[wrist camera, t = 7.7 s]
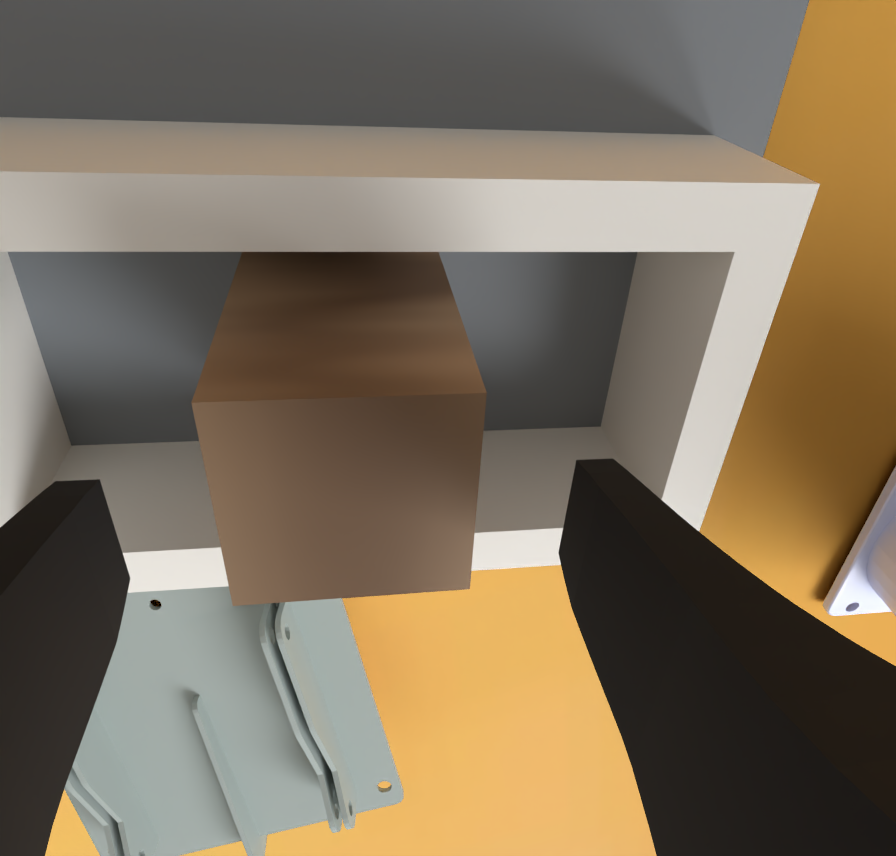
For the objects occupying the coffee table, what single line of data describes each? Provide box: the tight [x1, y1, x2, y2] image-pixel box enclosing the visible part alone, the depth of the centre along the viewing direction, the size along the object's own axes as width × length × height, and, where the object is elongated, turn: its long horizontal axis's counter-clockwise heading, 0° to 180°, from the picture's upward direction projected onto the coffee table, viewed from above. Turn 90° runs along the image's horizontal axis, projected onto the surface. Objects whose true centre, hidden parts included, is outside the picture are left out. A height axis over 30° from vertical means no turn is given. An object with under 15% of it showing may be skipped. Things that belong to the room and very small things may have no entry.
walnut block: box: [191, 252, 487, 606], centre depth 13 cm, size 4×4×7 cm
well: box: [0, 0, 820, 593], centre depth 15 cm, size 19×15×5 cm
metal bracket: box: [64, 586, 403, 856], centre depth 23 cm, size 14×6×15 cm
